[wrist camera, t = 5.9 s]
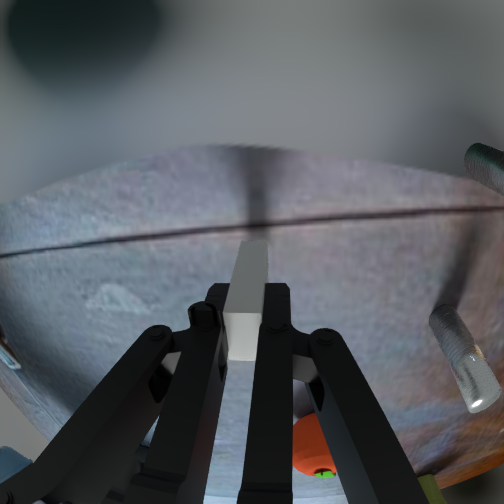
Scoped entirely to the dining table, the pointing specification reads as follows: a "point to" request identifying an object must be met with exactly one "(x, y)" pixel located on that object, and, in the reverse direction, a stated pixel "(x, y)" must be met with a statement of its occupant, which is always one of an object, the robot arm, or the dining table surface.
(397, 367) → the dining table surface
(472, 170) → the post
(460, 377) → the post
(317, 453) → the clementine
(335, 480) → the dining table surface
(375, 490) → the robot arm
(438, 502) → the plant pot
